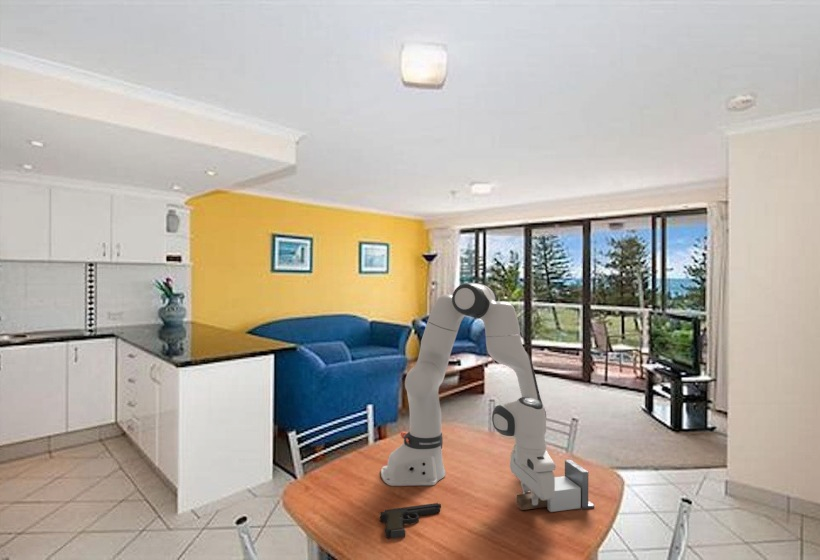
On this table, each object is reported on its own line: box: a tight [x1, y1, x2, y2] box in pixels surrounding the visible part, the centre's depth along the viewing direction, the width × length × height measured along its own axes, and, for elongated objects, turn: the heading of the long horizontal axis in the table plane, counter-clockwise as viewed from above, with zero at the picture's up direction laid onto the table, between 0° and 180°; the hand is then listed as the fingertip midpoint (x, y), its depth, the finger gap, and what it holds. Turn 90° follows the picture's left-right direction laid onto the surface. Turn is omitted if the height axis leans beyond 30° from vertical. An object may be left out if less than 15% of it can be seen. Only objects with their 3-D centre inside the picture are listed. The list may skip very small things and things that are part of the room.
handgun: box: [379, 502, 442, 540], centre depth 121 cm, size 3×19×12 cm
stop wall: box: [564, 459, 595, 511], centre depth 133 cm, size 4×9×11 cm, turn 14°
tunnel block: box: [546, 475, 581, 513], centre depth 131 cm, size 10×8×6 cm
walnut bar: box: [516, 492, 547, 511], centre depth 130 cm, size 14×3×3 cm, turn 103°
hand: (530, 500), depth 129 cm, fingers closed on walnut bar, 3 cm apart
